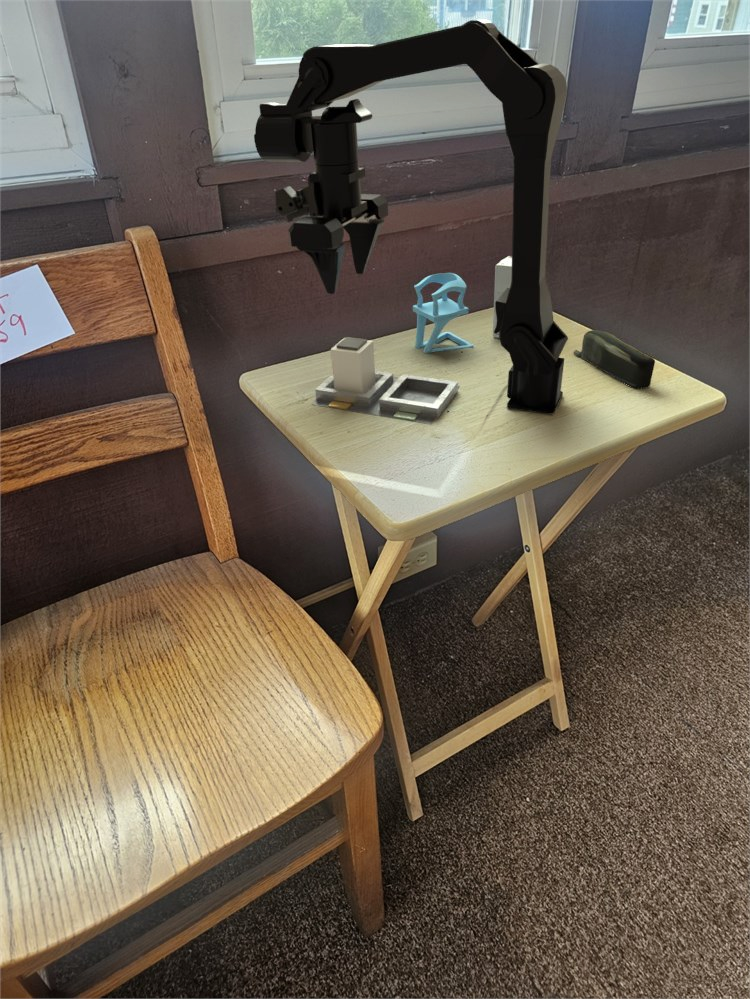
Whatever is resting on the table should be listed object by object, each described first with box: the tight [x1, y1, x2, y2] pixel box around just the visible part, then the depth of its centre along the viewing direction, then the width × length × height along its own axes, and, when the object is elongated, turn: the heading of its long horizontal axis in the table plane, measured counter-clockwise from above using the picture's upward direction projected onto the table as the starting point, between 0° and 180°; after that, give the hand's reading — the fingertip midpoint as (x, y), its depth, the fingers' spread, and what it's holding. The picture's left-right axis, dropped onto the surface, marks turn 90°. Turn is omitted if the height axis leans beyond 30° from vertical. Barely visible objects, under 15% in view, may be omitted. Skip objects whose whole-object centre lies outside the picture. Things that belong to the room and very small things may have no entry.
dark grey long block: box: [573, 329, 656, 390], centre depth 99 cm, size 5×3×15 cm
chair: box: [412, 272, 474, 354], centre depth 107 cm, size 8×8×12 cm
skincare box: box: [492, 255, 512, 339], centre depth 111 cm, size 6×4×12 cm
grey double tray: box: [311, 370, 461, 425], centre depth 96 cm, size 18×12×2 cm, turn 66°
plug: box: [330, 336, 376, 394], centre depth 96 cm, size 5×4×7 cm
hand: (346, 283), depth 95 cm, fingers open, 9 cm apart
